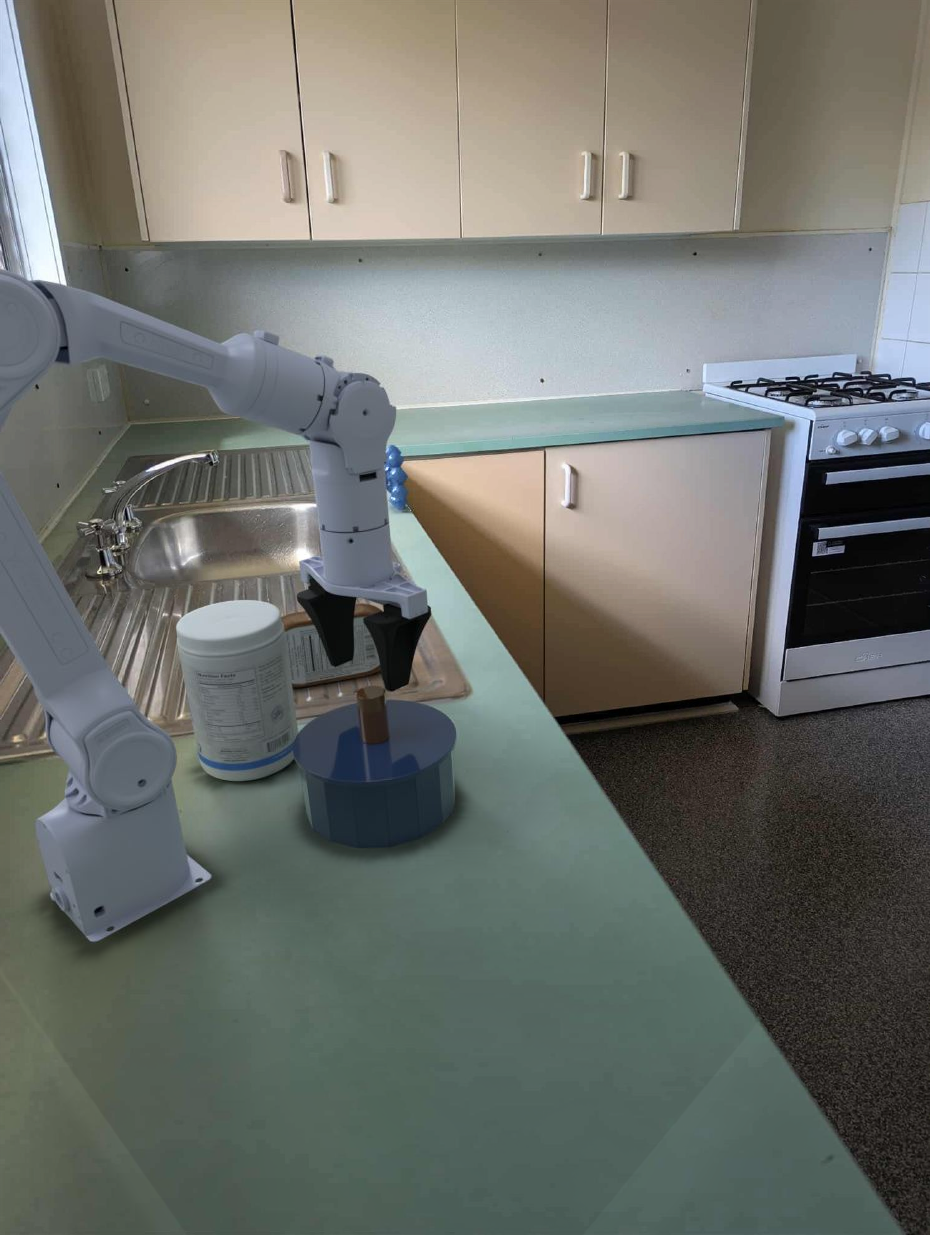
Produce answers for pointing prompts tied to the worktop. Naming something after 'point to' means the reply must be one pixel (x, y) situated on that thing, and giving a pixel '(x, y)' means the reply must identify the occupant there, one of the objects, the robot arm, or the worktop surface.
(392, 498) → the grapes
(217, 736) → the supplement tub
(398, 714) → the lid
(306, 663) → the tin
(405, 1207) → the worktop surface
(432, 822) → the crock
